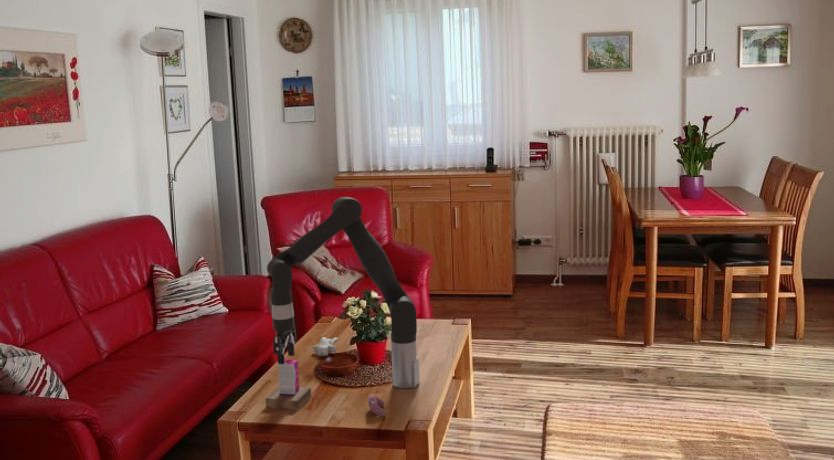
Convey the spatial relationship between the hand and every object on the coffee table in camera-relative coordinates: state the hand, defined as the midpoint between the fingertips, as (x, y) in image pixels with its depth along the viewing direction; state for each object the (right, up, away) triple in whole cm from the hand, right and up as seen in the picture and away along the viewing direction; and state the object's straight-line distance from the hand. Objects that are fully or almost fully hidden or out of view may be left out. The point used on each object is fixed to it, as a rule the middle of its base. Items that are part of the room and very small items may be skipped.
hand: (286, 359), depth 297 cm
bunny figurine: (+8, -5, +55) cm, 56 cm away
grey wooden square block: (0, -16, +3) cm, 17 cm away
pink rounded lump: (+32, -17, -8) cm, 37 cm away
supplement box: (+1, -12, +3) cm, 13 cm away
